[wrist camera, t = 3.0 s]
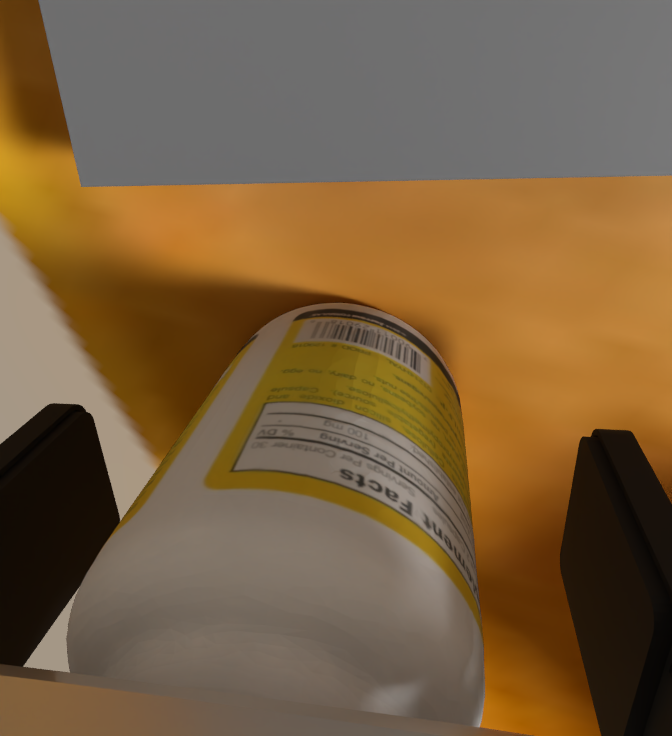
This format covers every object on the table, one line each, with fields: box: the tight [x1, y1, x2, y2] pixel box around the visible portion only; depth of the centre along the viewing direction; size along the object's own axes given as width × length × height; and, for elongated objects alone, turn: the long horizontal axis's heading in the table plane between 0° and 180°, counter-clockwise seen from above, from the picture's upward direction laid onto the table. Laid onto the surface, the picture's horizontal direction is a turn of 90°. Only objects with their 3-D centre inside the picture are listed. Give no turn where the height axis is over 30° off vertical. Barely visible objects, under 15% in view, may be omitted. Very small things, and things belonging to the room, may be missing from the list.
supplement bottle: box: [67, 303, 485, 727], centre depth 9 cm, size 5×5×10 cm
